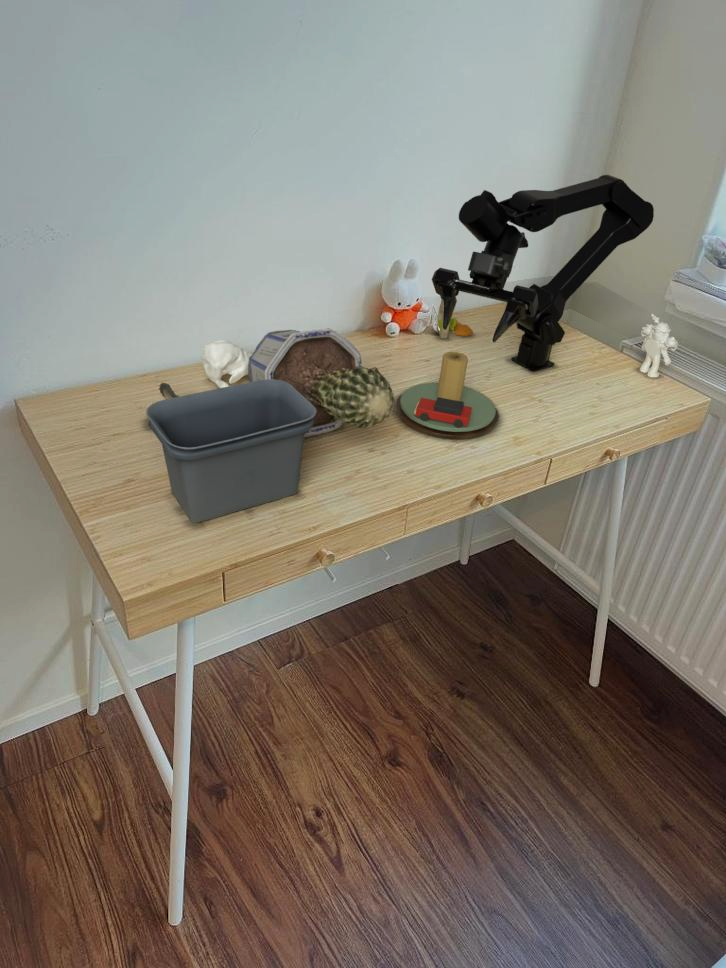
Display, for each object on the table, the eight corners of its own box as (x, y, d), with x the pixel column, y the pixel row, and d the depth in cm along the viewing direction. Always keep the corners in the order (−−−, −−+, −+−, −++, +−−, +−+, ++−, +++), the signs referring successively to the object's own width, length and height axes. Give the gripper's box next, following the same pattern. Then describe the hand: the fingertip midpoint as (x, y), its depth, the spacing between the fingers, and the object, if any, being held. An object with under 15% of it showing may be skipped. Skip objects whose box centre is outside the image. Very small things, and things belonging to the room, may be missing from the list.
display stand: (450, 380, 148) (450, 377, 148) (519, 423, 137) (520, 419, 136) (374, 403, 139) (375, 399, 138) (442, 450, 127) (443, 446, 127)
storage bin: (181, 542, 103) (174, 451, 94) (142, 482, 113) (133, 396, 105) (320, 501, 113) (325, 416, 105) (273, 450, 123) (274, 369, 115)
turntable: (410, 378, 145) (416, 329, 140) (499, 395, 143) (509, 346, 137) (390, 420, 132) (396, 368, 126) (489, 440, 129) (499, 387, 123)
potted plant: (226, 325, 126) (326, 354, 103) (318, 313, 136) (428, 337, 113) (235, 428, 133) (331, 476, 110) (322, 409, 142) (427, 450, 119)
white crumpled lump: (198, 336, 135) (257, 330, 142) (196, 380, 140) (254, 372, 147) (214, 350, 131) (275, 343, 138) (212, 395, 136) (271, 386, 143)
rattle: (469, 346, 163) (477, 294, 156) (430, 340, 164) (438, 288, 157) (472, 333, 169) (481, 282, 162) (435, 327, 170) (442, 276, 163)
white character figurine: (627, 364, 161) (643, 310, 154) (641, 362, 163) (658, 308, 156) (656, 384, 154) (674, 328, 148) (671, 381, 156) (690, 326, 149)
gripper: (442, 221, 133) (411, 301, 131) (548, 243, 127) (516, 327, 125) (451, 255, 144) (422, 329, 141) (549, 276, 138) (520, 355, 135)
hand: (468, 334), depth 136 cm, fingers open, 9 cm apart
